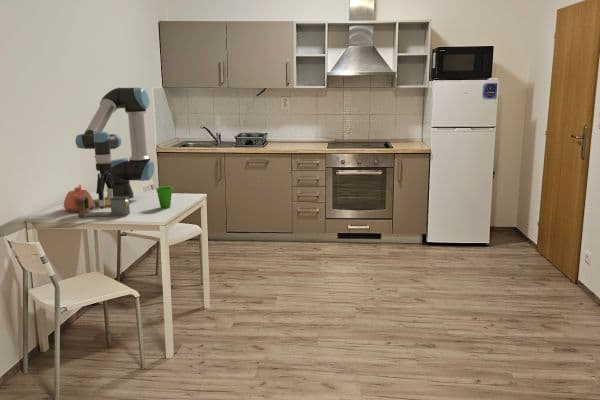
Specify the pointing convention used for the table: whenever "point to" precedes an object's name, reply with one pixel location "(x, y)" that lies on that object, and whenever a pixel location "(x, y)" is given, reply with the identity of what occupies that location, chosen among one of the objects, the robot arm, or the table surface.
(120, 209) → the sleeve
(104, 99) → the robot arm
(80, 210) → the socket
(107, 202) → the tube
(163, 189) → the cup
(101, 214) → the base board
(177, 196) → the table surface
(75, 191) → the teapot
